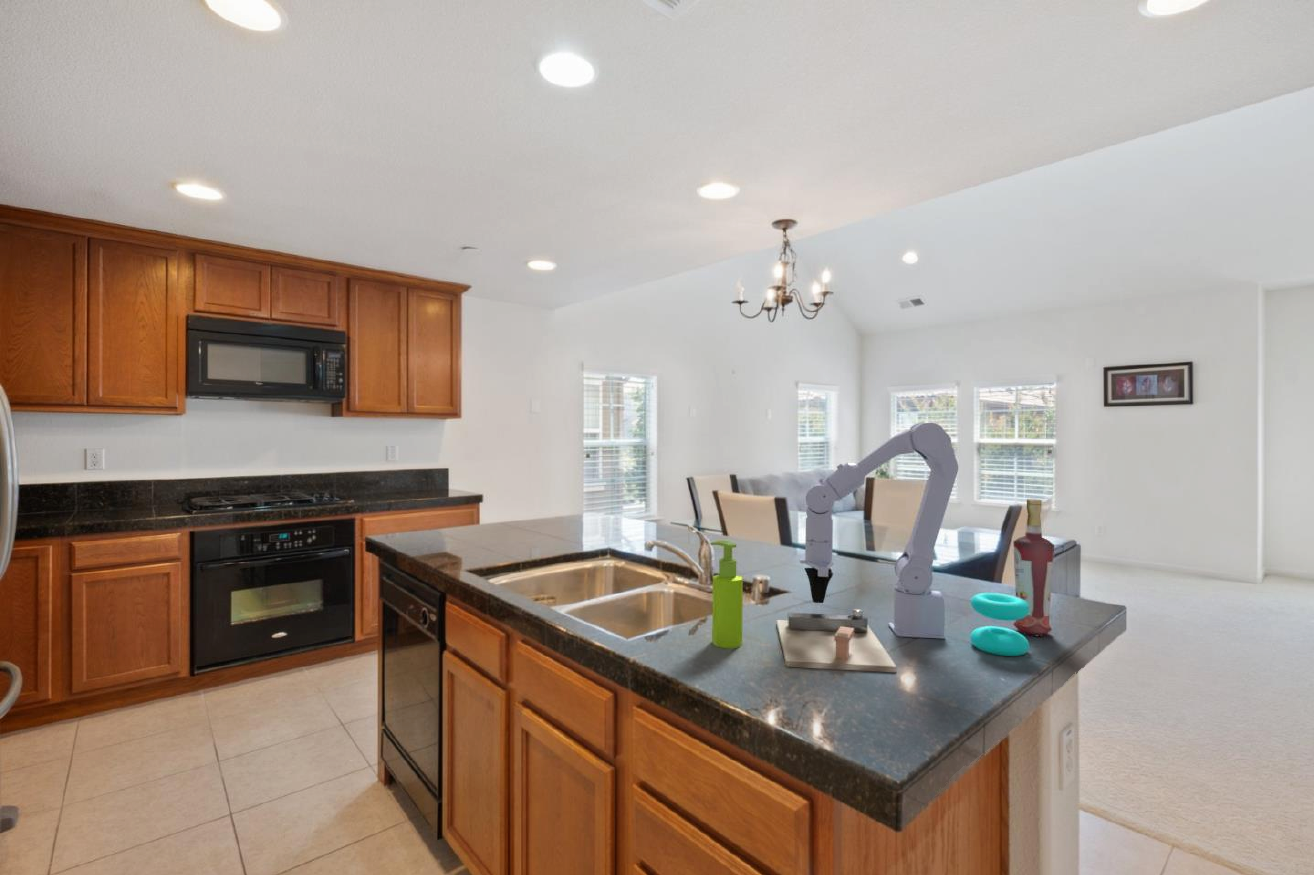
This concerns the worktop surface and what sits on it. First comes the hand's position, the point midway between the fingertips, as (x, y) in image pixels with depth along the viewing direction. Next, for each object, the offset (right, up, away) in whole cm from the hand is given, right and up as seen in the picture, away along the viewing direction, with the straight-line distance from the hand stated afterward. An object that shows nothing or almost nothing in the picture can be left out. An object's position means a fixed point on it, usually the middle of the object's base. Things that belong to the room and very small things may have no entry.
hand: (818, 602), depth 135 cm
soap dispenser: (-22, -5, -12) cm, 25 cm away
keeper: (0, -4, -20) cm, 21 cm away
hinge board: (-1, -5, -13) cm, 14 cm away
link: (0, -4, -7) cm, 8 cm away
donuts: (+32, -6, -14) cm, 35 cm away
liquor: (+44, -5, -5) cm, 44 cm away
